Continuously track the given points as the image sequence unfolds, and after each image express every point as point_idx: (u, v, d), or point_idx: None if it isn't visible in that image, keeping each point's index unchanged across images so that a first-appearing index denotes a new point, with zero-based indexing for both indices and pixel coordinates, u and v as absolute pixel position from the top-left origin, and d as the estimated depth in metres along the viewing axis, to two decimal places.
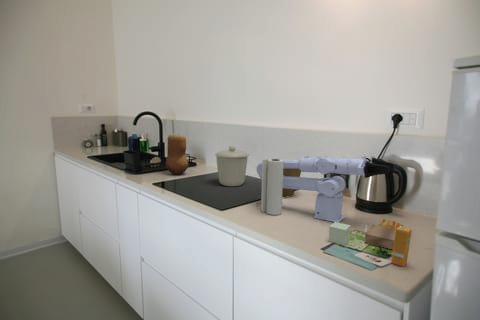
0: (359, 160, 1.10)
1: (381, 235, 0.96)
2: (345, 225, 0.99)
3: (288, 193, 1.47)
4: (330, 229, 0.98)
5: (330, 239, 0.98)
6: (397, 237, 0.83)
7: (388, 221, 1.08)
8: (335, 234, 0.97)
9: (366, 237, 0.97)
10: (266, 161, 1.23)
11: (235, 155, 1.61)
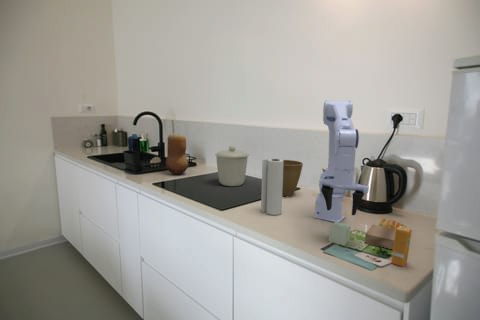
0: (336, 181, 0.95)
1: (381, 235, 0.96)
2: (345, 225, 0.99)
3: (288, 193, 1.47)
4: (330, 229, 0.98)
5: (330, 239, 0.98)
6: (397, 237, 0.83)
7: (388, 221, 1.08)
8: (335, 234, 0.97)
9: (366, 237, 0.97)
10: (266, 161, 1.23)
11: (235, 155, 1.61)
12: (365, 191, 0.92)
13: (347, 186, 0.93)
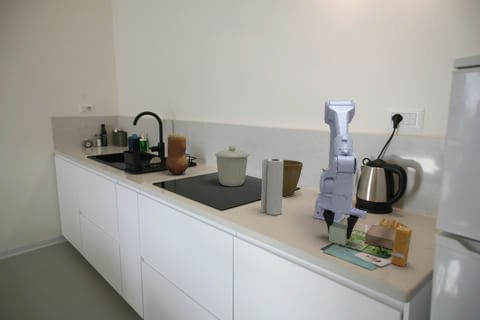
0: (334, 206, 0.96)
1: (381, 235, 0.96)
2: (345, 225, 0.99)
3: (288, 193, 1.47)
4: (330, 229, 0.98)
5: (330, 239, 0.98)
6: (397, 237, 0.83)
7: (388, 220, 1.09)
8: (335, 234, 0.97)
9: (366, 237, 0.97)
10: (266, 161, 1.23)
11: (235, 155, 1.61)
12: (363, 217, 0.93)
13: (345, 211, 0.94)
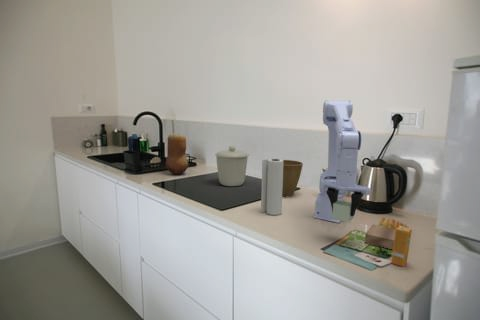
0: (338, 183, 0.95)
1: (381, 235, 0.96)
2: (349, 202, 0.98)
3: (288, 193, 1.47)
4: (334, 206, 0.97)
5: (334, 216, 0.97)
6: (397, 237, 0.83)
7: (388, 220, 1.09)
8: (339, 211, 0.96)
9: (366, 237, 0.97)
10: (266, 161, 1.23)
11: (235, 155, 1.61)
12: (367, 193, 0.92)
13: (349, 188, 0.93)
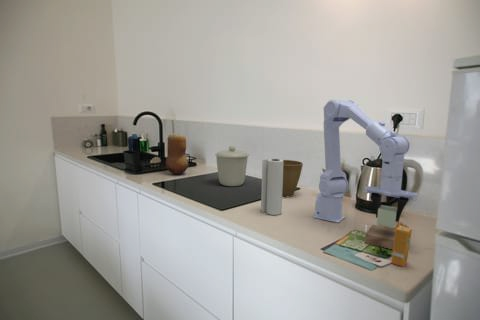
0: (384, 188, 0.95)
1: (381, 235, 0.96)
2: (393, 208, 0.98)
3: (288, 193, 1.47)
4: (379, 211, 0.97)
5: (378, 222, 0.97)
6: (397, 237, 0.83)
7: None
8: (384, 216, 0.96)
9: (366, 237, 0.97)
10: (266, 161, 1.23)
11: (235, 155, 1.61)
12: (414, 198, 0.92)
13: (396, 193, 0.93)
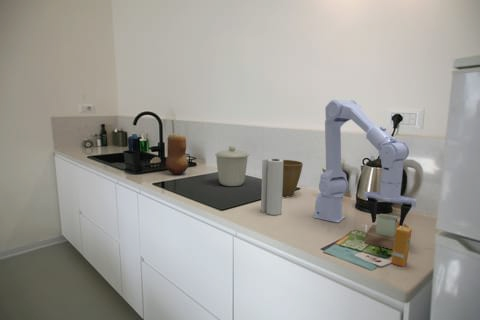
0: (383, 194, 0.95)
1: (381, 235, 0.96)
2: (392, 217, 0.98)
3: (288, 193, 1.47)
4: (378, 220, 0.97)
5: (377, 231, 0.97)
6: (397, 237, 0.83)
7: None
8: (383, 225, 0.96)
9: (366, 237, 0.97)
10: (266, 161, 1.23)
11: (235, 155, 1.61)
12: (414, 204, 0.92)
13: (395, 199, 0.94)
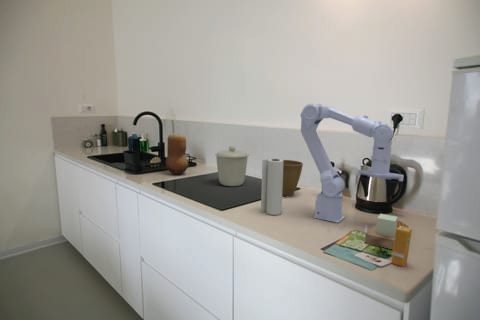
0: (374, 170, 1.07)
1: (381, 235, 0.96)
2: (392, 217, 0.98)
3: (288, 193, 1.47)
4: (378, 220, 0.97)
5: (377, 231, 0.97)
6: (397, 237, 0.83)
7: None
8: (383, 225, 0.96)
9: (366, 237, 0.97)
10: (266, 161, 1.23)
11: (235, 155, 1.61)
12: (401, 179, 1.04)
13: (384, 175, 1.06)
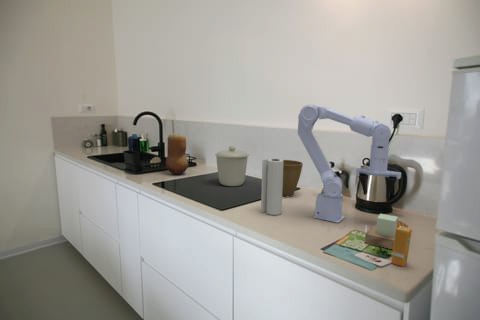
0: (372, 169, 1.10)
1: (381, 235, 0.96)
2: (392, 217, 0.98)
3: (288, 193, 1.47)
4: (378, 220, 0.97)
5: (377, 231, 0.97)
6: (397, 237, 0.83)
7: None
8: (383, 225, 0.96)
9: (366, 237, 0.97)
10: (266, 161, 1.23)
11: (235, 155, 1.61)
12: (398, 177, 1.07)
13: (382, 173, 1.09)
